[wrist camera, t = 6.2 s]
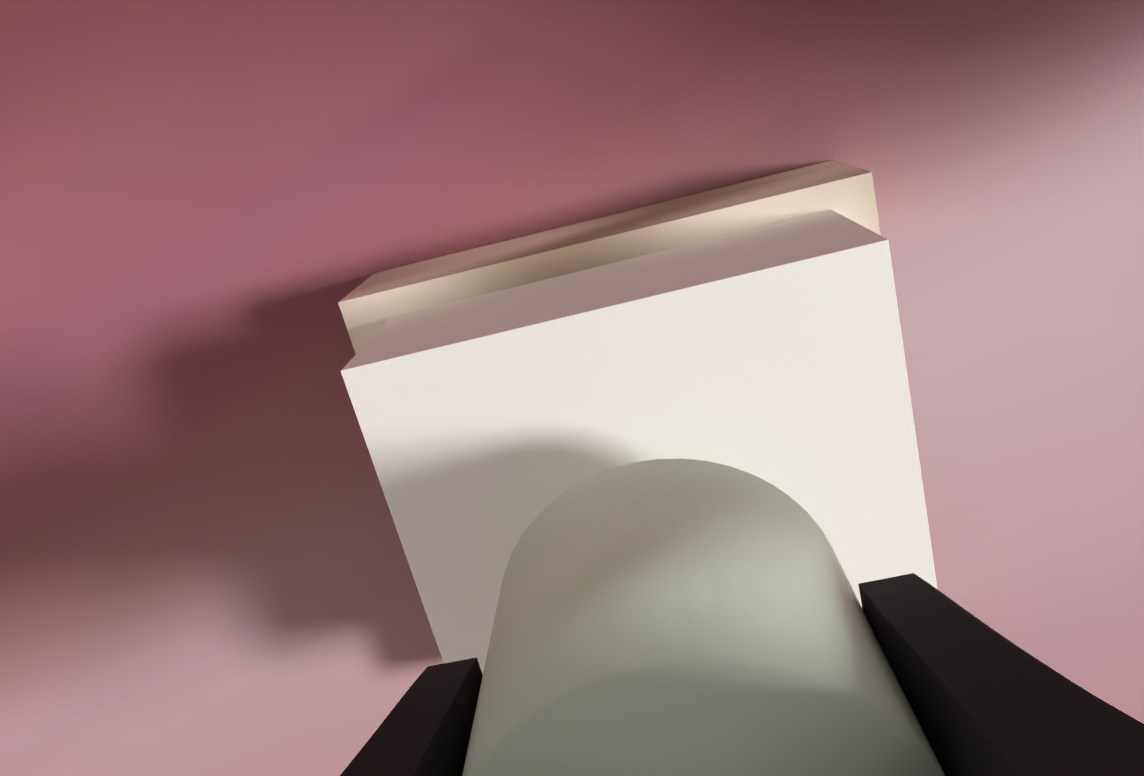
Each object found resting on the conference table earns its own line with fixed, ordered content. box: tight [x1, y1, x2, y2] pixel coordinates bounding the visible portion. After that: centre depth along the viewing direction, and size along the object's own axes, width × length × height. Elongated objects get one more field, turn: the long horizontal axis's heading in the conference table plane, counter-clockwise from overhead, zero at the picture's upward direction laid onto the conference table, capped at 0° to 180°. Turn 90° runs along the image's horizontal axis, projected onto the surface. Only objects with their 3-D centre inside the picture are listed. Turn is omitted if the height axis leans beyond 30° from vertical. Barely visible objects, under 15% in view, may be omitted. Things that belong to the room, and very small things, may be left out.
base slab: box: [338, 160, 881, 354], centre depth 17 cm, size 9×9×3 cm
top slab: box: [341, 210, 937, 674], centre depth 14 cm, size 8×8×3 cm
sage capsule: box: [462, 458, 945, 776], centre depth 10 cm, size 4×4×4 cm
